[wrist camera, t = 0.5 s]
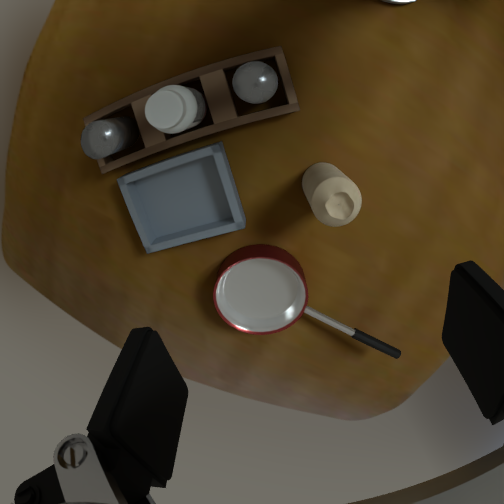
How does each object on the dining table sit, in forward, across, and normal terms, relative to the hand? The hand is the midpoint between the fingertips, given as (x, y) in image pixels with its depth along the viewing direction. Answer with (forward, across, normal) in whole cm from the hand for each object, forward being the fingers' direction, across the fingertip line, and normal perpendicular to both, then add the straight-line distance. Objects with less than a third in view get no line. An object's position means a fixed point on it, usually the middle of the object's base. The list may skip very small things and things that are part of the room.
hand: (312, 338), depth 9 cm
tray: (+33, +12, +2) cm, 35 cm away
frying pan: (+33, -3, +22) cm, 40 cm away
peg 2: (+32, 0, -10) cm, 34 cm away
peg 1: (+33, +18, -9) cm, 38 cm away
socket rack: (+32, +9, -9) cm, 35 cm away
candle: (+33, -6, +4) cm, 33 cm away
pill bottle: (+33, +9, -9) cm, 35 cm away
